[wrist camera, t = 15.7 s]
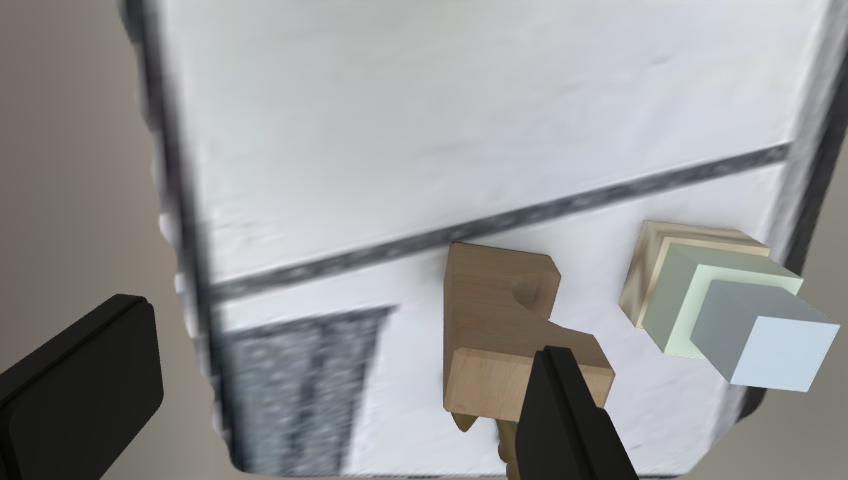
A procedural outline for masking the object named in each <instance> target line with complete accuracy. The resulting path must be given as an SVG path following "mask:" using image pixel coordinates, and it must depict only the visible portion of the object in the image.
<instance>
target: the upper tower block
mask: <svg viewBox="0 0 848 480" xmlns="http://www.w3.org/2000/svg"><path fill="white" fill-rule="evenodd" d="M712 280H720V281H729V282H738V283H747V284H756V285H765V286H774V287H783V288H784V289H786V290H787V291H789V292H790V293H792V294H793V295H795V296H796V294H797V292H798V290H799V288H800V286H801V284H802V282H803V279H802V278H801V277H799V276H797V275H796V274H794V273H792V272H791V271H789V270H787V269H786V268H784V267H782V266H781V265H779V264H777V263H776V262H774V261H772V260H770V259H769V258H767V257H765V256H761V255H754V254H747V253H740V252H733V251H726V250H719V249H712V248H705V247H698V246H691V245H685V244H678V243H670V246H669V248H668V251H667V254H666V257H665V259H664V262H663V265H662V268H661V271H660V273H659V276H658V279H657V282H656V284H655V287H654V290H653V293H652V296H651V298H650V301H649V304H648V307H647V309H646V312H645V315H644V318H643V321H642V323H641V325H642V326H643V328H644V329H645V330H646V331H647V333H648V334H649V335H650V337H651V338H652V339H653V341H654V342H655V343H656V345H657V346H658V347H659V349H660V350H661V351H662V353H663V354H670V355H677V356H684V357H691V358H698V359H705V360H708V359H707V358H706V357H705V356H704V355H703V354H702V353H701V352H700V350H699V349H698V348H697V347H696V346H695V345H694V344H693V343H692V342H691V340H690V338H691V335H692V333H693V330H694V327H695V325H696V322H697V319H698V316H699V314H700V311H701V308H702V306H703V303H704V300H705V297H706V295H707V292H708V289H709V286H710V284H711V281H712Z"/></svg>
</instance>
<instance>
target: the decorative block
mask: <svg viewBox="0 0 848 480" xmlns="http://www.w3.org/2000/svg"><path fill="white" fill-rule="evenodd" d="M560 280H561V274H560V273H559V271H558V269H557V267H556V266H555V264H554V262H553V260H552V259H551V257H550V256H545V255H538V254H531V253H525V252H518V251H511V250H505V249H498V248H491V247H484V246H477V245H471V244H464V243H457V242H454V243H453V244H451V246H450V251H449V257H448V263H447V268H446V274H445V280H444V331H443V407H444V408H445V410H446V411H447V412H453V413H460V414H467V415H473V416H480V417H487V418H494V419H500V420H507V421H514V422H519V418H520V414H521V410H522V406H523V402H524V398H525V393H526V389H527V385H528V381H529V377H530V373H531V368H532V364H533V360H534V356H535V353H536V351H537V350H541V351H543V349H544V347H545V346H546V345H550V346H558V347H566V348H570V349H571V351H572V353H573V355H574V357H575V359H576V362H577V364H578V366H579V368H580V371H581V373H582V375H583V377H584V380H585V382H586V384H587V386H588V388H589V391H590V393H591V395H592V397H593V400H594V402H595V404H596V406H597V407H601V408H604V405H605V402H606V400H607V397H608V394H609V391H610V389H611V386H612V383H613V380H614V377H615V375H616V374H615V372H614V371H613V369H612V367H611V365H610V363H609V362H608V360H607V358H606V356H605V354H604V353H603V351H602V349H601V347H600V345H599V343H598V342H597V340H596V339H595V337H594V336H593V335H591V334H587V333H583V332H579V331H575V330H571V329H567V328H563V327H561V326H559V325H557V324H554V323H552V322H550V321H548V319H549V318H550V315H551V312H552V308H553V305H554V301H555V297H556V294H557V290H558V287H559V283H560Z"/></svg>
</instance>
